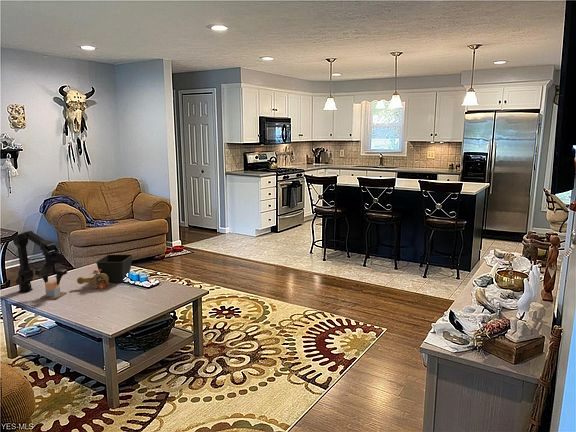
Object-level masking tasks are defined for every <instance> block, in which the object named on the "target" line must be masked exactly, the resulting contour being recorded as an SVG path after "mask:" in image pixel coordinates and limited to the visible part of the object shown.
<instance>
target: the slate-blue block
mask: <svg viewBox="0 0 576 432" xmlns="http://www.w3.org/2000/svg"><path fill="white" fill-rule="evenodd" d="M61 292H62V291H61V286H60V287H59V288H57V289H56V290H46V289H45V295H46V296H50V297H55V296H57V295H59V294H60V293H61Z"/></svg>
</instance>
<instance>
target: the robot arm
mask: <svg viewBox="0 0 576 432" xmlns="http://www.w3.org/2000/svg"><path fill="white" fill-rule="evenodd" d="M29 241H30V242H33V243H34V244H36V245H37V246H39V249H40V250H41V251H42V253H41V255H43V256H44V264H43V267H41V268H38V269H36V270H35V272H34V270H33V269H31V267H30V265H29V259H28V258H29V257H28V251H27V246H28V243H29ZM12 242H13V244H14V246H16V248H17V253H18V260H19V271H18V272H17V273H18V274H17V275H18V276H17V278H16V279H15V284H17V285H18V289H19V290H18V291H17V293H24V292H27V293H29V292H31V291H32V290H34V288H32V283H31V282H32V281H33V280H34V275H35V276H38V277H40V278H41V279H42V280H43V282H44V284H45V283H46V282H48V281H49V275H51V274H54V275H55V274H56V275H55V276H54V277H55V278H56V279H55V280H57V285H59V283H61V280H62V278H63V276H65V275H67V274H68V270H67V269H66V268H64V269H62V268H61V269H59V270H58V268H57V266H56V264H64V262H65V261H66V257H65V255H64V254H63V253H62V252H60V250H59V248H58V247H57V245H56V243H55V242H53V241H52V240H47V239H44V238H43V237H41V236H40V235H38V234H36V233H34V231H33V230H28V231H25V232H22V233H19V234H14V235H13V236H12Z"/></svg>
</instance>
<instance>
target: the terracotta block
mask: <svg viewBox="0 0 576 432" xmlns="http://www.w3.org/2000/svg"><path fill="white" fill-rule="evenodd" d="M60 283H61V282H60ZM60 283H59V285H57V280H56V279H51V280H48V282H46V283H45V282H44V284H45V291H46V290H56V289H57V288H59V287H60V288H61V285H60Z"/></svg>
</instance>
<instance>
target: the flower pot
mask: <svg viewBox="0 0 576 432" xmlns="http://www.w3.org/2000/svg"><path fill="white" fill-rule="evenodd" d="M132 261H133V254H107V255H105V256H103V257H102V258H100V259H99V260H97V261H95V263H96V267H97V271H98V270H100V271H99V273H104V274H106V275H107V276H108V278H109V281H108V282H109V284H115V283H116V284H118V283H119V284H121V283H123V282H124V281H123V279H124V276H125V275H126V274H127V273H129V274H130V273H131V272H130V271H131V268H132ZM101 269H102V270H101ZM122 281H123V282H122Z"/></svg>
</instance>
